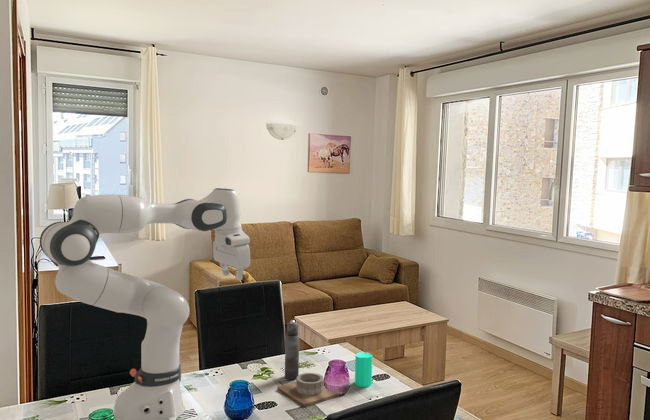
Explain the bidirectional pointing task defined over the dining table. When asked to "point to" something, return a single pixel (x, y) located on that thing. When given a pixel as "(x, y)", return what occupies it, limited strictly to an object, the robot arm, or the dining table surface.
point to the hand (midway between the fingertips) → (232, 277)
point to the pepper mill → (292, 351)
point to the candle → (363, 369)
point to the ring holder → (307, 390)
